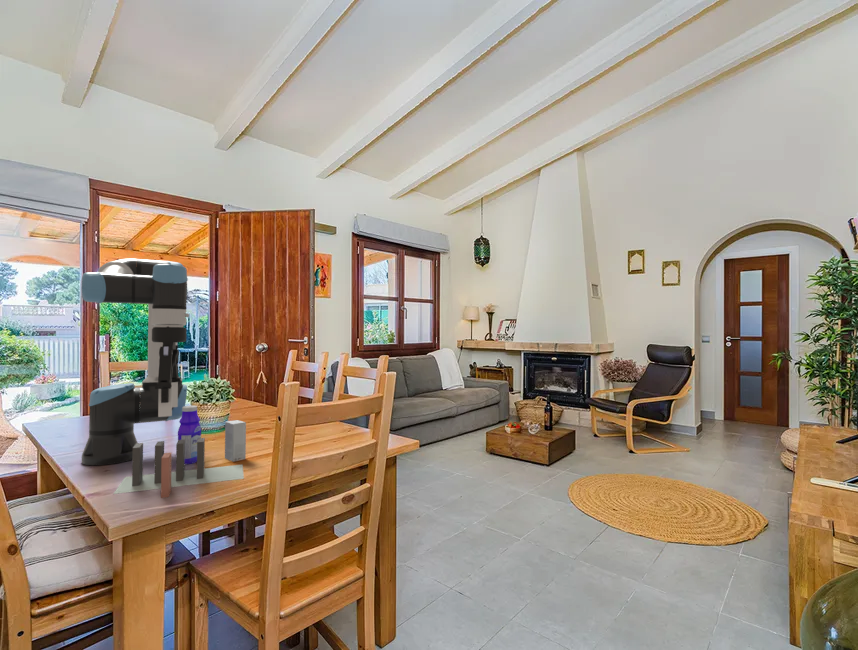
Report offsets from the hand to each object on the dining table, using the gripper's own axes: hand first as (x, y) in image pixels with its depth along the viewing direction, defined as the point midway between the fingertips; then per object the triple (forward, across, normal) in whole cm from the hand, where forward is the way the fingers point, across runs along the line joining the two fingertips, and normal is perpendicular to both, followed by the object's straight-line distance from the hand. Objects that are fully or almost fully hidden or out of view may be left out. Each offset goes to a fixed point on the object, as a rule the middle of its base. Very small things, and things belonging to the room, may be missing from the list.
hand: (168, 411), depth 112 cm
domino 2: (+20, +12, +3) cm, 24 cm away
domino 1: (+20, +12, +8) cm, 25 cm away
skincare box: (+21, +27, -16) cm, 38 cm away
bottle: (+21, +29, -3) cm, 36 cm away
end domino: (+21, 0, 0) cm, 21 cm away
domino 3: (+20, +12, -2) cm, 24 cm away
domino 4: (+20, +12, -7) cm, 24 cm away
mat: (+21, +12, -3) cm, 24 cm away
